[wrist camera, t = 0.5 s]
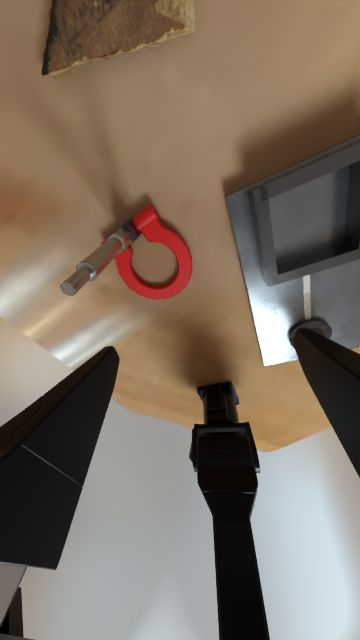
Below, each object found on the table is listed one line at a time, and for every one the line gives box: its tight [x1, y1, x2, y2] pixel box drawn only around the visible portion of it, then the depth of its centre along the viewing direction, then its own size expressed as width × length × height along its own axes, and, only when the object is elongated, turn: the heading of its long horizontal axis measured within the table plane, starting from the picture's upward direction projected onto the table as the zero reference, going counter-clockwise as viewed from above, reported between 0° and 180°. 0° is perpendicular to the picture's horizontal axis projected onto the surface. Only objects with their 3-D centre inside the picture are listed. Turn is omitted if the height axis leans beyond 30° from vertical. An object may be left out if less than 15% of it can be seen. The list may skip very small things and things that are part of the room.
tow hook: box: [60, 205, 192, 299], centre depth 16 cm, size 8×13×9 cm
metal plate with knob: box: [225, 134, 360, 366], centre depth 19 cm, size 23×12×7 cm, turn 22°
